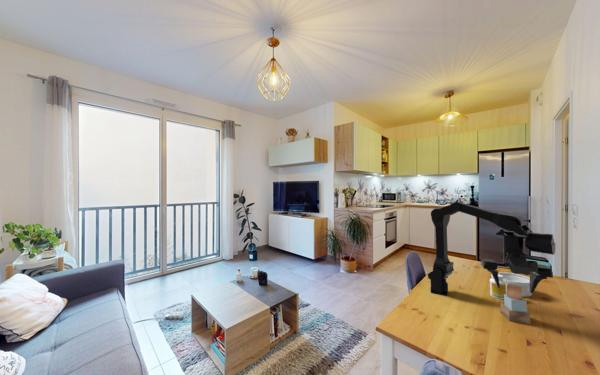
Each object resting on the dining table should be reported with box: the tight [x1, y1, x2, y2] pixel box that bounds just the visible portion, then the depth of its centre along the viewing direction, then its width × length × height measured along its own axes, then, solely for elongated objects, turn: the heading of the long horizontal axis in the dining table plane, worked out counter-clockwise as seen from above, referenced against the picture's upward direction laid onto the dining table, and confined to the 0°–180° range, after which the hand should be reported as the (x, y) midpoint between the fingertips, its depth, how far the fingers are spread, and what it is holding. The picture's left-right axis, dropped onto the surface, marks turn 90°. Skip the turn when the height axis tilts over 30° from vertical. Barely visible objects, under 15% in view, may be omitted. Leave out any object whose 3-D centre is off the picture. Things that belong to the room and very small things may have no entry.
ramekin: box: [498, 271, 533, 298], centre depth 105 cm, size 13×13×7 cm
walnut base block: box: [500, 302, 531, 325], centre depth 83 cm, size 6×6×4 cm
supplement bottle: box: [489, 273, 507, 300], centre depth 100 cm, size 5×5×10 cm
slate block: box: [503, 293, 528, 313], centre depth 83 cm, size 4×4×4 cm
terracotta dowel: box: [506, 284, 523, 300], centre depth 83 cm, size 4×4×4 cm
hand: (514, 290), depth 83 cm, fingers open, 9 cm apart
